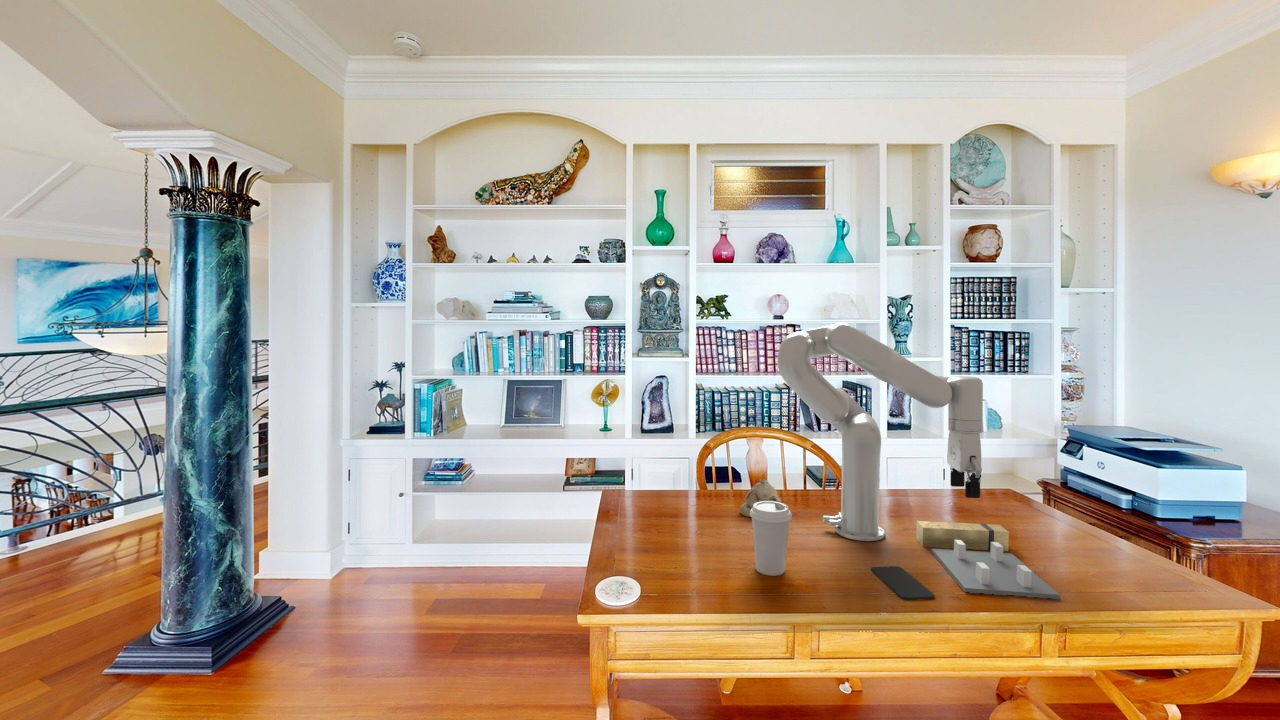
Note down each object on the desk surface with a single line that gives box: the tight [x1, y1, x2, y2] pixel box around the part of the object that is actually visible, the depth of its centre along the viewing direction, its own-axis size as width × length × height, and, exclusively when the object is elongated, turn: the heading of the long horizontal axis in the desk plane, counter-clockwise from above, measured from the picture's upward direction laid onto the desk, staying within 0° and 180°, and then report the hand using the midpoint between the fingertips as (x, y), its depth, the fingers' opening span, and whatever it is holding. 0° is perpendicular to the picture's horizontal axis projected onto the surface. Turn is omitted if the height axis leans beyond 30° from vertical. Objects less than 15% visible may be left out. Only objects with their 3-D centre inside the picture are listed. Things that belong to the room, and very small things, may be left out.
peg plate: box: [931, 540, 1061, 600], centre depth 126 cm, size 18×21×4 cm
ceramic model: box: [739, 478, 782, 518], centre depth 169 cm, size 14×11×10 cm
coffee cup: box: [750, 501, 793, 577], centre depth 129 cm, size 10×10×15 cm
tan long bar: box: [915, 520, 1010, 552], centre depth 143 cm, size 20×5×5 cm, turn 80°
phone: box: [870, 565, 936, 601], centre depth 122 cm, size 7×1×15 cm
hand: (964, 491), depth 142 cm, fingers open, 9 cm apart
